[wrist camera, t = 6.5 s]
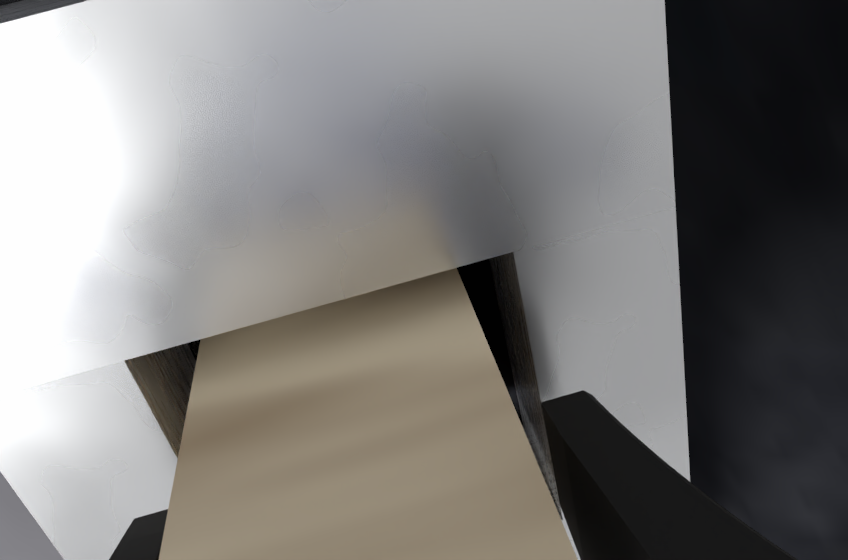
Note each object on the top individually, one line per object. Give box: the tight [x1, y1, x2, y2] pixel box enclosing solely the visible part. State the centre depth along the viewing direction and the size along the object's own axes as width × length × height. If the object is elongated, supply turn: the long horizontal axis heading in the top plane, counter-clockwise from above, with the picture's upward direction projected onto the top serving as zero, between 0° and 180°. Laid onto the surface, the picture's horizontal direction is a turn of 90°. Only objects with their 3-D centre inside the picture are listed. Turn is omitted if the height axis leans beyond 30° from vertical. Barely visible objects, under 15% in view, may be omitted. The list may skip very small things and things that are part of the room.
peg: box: [159, 268, 578, 560], centre depth 10 cm, size 4×4×7 cm
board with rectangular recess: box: [0, 0, 690, 560], centre depth 13 cm, size 18×10×2 cm, turn 13°
